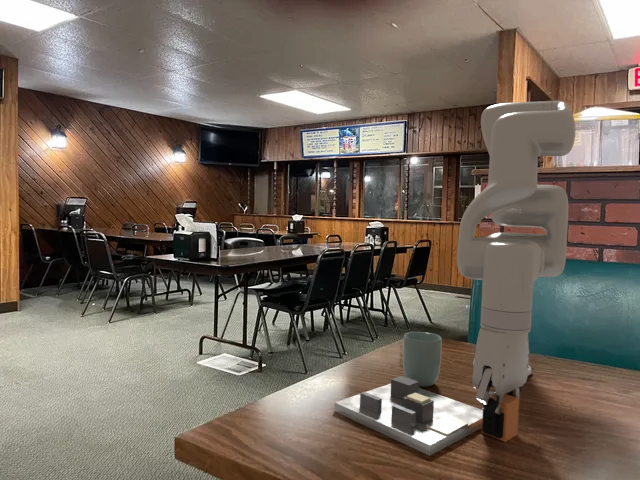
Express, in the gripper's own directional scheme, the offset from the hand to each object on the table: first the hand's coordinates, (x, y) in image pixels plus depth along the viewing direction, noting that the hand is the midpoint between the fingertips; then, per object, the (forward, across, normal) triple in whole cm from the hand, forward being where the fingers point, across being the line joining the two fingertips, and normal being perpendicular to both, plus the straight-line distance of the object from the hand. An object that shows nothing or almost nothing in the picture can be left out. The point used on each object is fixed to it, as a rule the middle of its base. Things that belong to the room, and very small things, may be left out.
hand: (499, 429), depth 78 cm
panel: (+1, +6, -13) cm, 14 cm away
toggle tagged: (-1, +9, -10) cm, 13 cm away
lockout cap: (+1, 0, 0) cm, 1 cm away
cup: (+1, -9, -22) cm, 24 cm away
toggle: (-1, +3, -17) cm, 17 cm away
